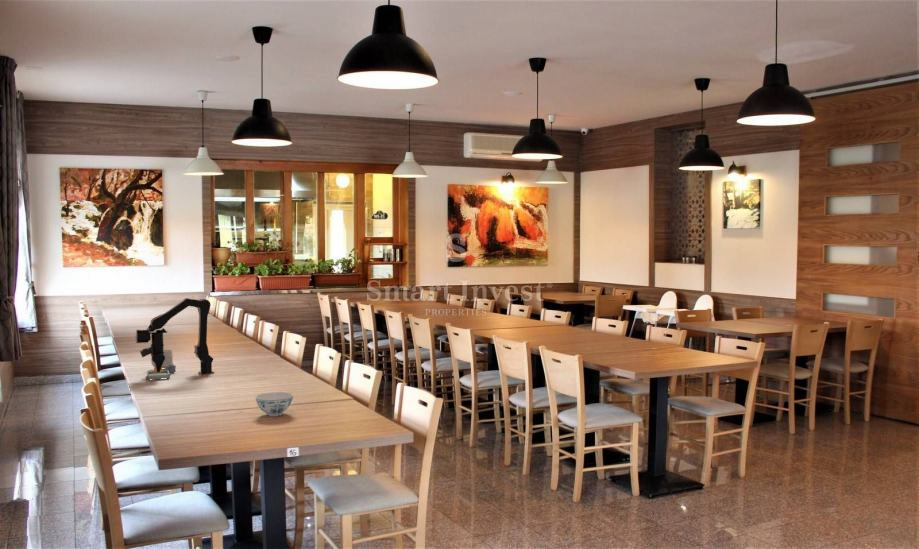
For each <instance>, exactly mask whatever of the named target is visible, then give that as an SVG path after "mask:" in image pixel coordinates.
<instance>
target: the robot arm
mask: <svg viewBox="0 0 919 549" xmlns="http://www.w3.org/2000/svg"><path fill="white" fill-rule="evenodd" d="M188 307H195V308H197V312H198V317H199V318H198V338H197V339H198V342H197V344H196V345H194V346H193V347H194V351H193V353H194V354H195V357H196V358H197V359H198V360H199V361H200V371H198V372H197V373H198V374H200V373H201V375H207V374H208V373H210V374H215V371H213V369H212V368H213V366H212V363H213V361H214V357H213V356H211V355H210V353H209V352H210V351H209V346H208V343H207V342H208V341H207V339H208V337H207V336H208V316H209V313H210V310H211V301H209V300H208V299H205V298H201V299H191V298H183V300H182V301H180V302H179V303H177V304H176V305H174V306H173V307H172V308H170V309H169V310H167V311H166V312H164V313H161V314H160V315H157V316H155V317H153V318H151V320H150V324H149V326H147V328H146V329H136V331H135V332H136V333H135V343H136V344H143V343H144V344H145V343H149V342H150V341H151V344H150V346H149V347H145V348H142V349H141V350H140V351H139V352H140V355H141V358H144V357H146V356H149V355H150V357H151V358H152V361H153V362H155V365H156V369H157V372H160V370H161V367H162V365H163V362H164V360H165V355H164V350H165V349H164V348H165V347H164V345H165V344H164V334H167V333H168V331H167V330H166V329H165V328H164V326H166V325H167V324H168V322H169V321H170V320H171V319H173V317H175V316H177V314H179V313H181V312H182V311H184V310H185V309H187V308H188ZM151 358H150V359H151Z"/></svg>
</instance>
